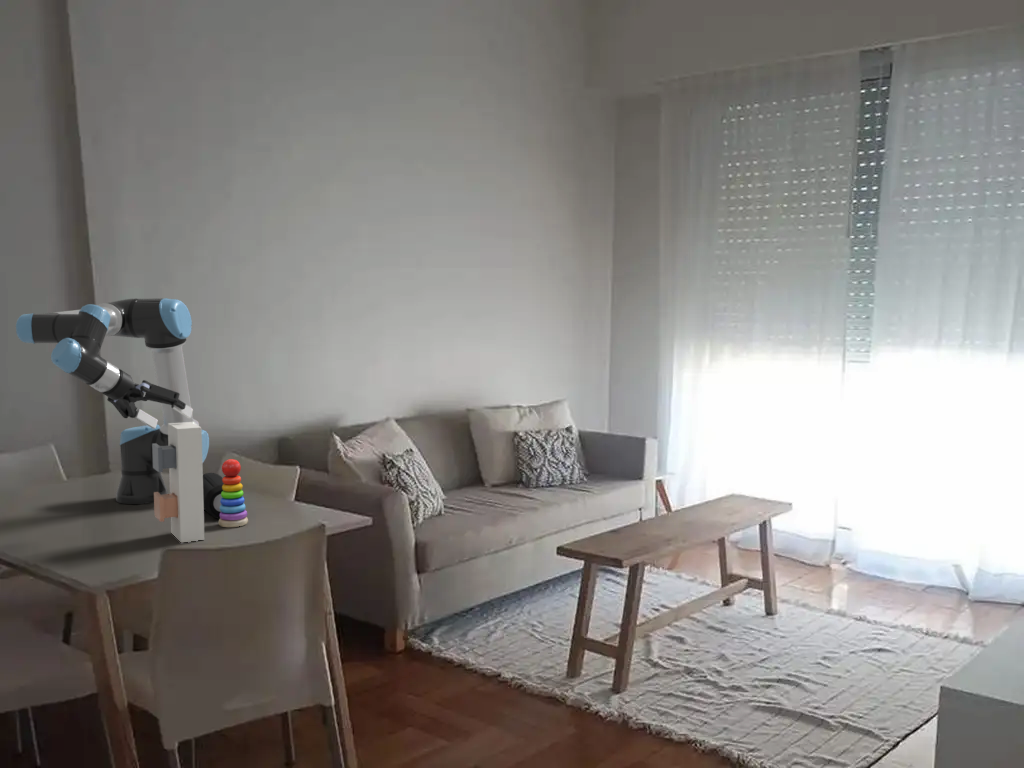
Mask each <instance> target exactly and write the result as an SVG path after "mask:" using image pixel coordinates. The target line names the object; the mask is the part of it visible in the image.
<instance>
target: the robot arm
mask: <svg viewBox="0 0 1024 768" xmlns="http://www.w3.org/2000/svg"><path fill="white" fill-rule="evenodd" d="M192 324H193V322H192V316H191V313H190V310H189V309H188V306H187V305H186V304H185V303H184V302H183V301H181V300H179V299H173V298H167V297H165V298H125V299H120V300H116V301H110V302H103V303H99V304H94V303H92V304H91V303H90V304H89V303H88V304H85V305H82V307H81V308H80V309H75V310H64V311H63V310H62V311H56V312H47V313H34V312H32V313H27V314H26V313H23V314H21V315H20V316H19V317H18V318H17V320H16V323H15V329H16V331H15V332H16V335H17V338H18V339H19V341H21V342H23V343H25V344H33V345H36V344H56V345H55V347H54V348H52V351H51V355H50V359H51V362H52V364H53V365H55V366H56V367H57V368H59V369H60V370H62V371H63V372H65V374H69V375H71V376H72V377H74V378H76V379H77V380H79V381H80V382H82V383H84V384H86V385H88V386H90V387H91V388H93V389H94V391H95V390H96V391H98V392H100V393H102V394H103V395H104V396H106V397H107V401H108V402H109V403H110V404H112V406H113V407H114V408H115V409H116V410H117V411H118V412H119V414H120V415H121V416H122V418H124V419H128V418H131V419H135V420H137V421H139V422H141V423H143V424H145V425H140V426H135V427H130V428H129V427H128V428H126V429H123V430H122V431H121V432H120V437H119V438H120V439H119V446H120V447H119V448H120V451H119V452H120V469H121V470H120V471H121V473H120V474H121V475H120V480H119V483H118V485H117V486H118V487H117V489H116V492H115V493H116V494H115V501H116V502H117V503H119V504H125V505H143V504H144V503H145V504H152V503H153V504H154V492H159V493H160V494H161V495H163V494H169V493H168V488H167V485H166V483H165V480H164V478H163V475H162V472H158V471H156V470H155V469H154V468H153V453H152V444H155V443H156V444H158V445H159V446H168V423H183V422H192V423H194V424H196V425H198V426H200V422H199V421H198V420H197V419H195V418H194V416H193V411H194V408H192V402H191V397H190V390H189V384H188V383H189V382H188V375H187V370H186V364H185V363H186V362H185V358H184V357H185V356H184V351H183V346H185V344H186V343H187V338H189V337H190V335H191V333H192V329H193V328H192V326H193V325H192ZM106 337H123V338H131V339H133V338H134V339H143V340H144V344H145V347H146V348H147V349H149V350H150V351H151V353H152V358H153V364H154V366H153V367H154V371H155V375H156V376H155V377H156V383H157V384H154V383H151V382H150V381H147V380H146V379H143V380H142V382H141V383H140V384H139V383H135V382H134V381H133V377H132V376H131V375H130V374H129V373H127V372H125V371H124V370H122V369H120V368H119V367H118V366H116V365H114V364H113V363H111V362H110V361H108V360H106V359H104V358H103V357H101V355H99V354H100V351H101V348H102V346H103V343H104V340H105V338H106ZM140 401H141V402H142V401H143V402H147V401H150V402H155V403H159V404H160V406H161V407H160V408H161V413H162V419H163V423H162V425H159V424H158V422H159V420H158V419H157V418H156V417H154V416H152V415H151V414H149V413H147V412H146V411H144V410H142V409H140V408H138V407H137V406H136V402H140ZM209 448H210V436H209V433H208V432H207V430H204V429H202V464H203V463H204V462H205V461H206V459H207V456H208V452H209Z"/></svg>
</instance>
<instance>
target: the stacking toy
mask: <svg viewBox="0 0 1024 768" xmlns="http://www.w3.org/2000/svg"><path fill="white" fill-rule="evenodd" d="M241 467H242V466H241V463H240V462H239V461H238V460H237V459H233V458H230V459H226V460H224V462H222V465H221V472H222V473H223V475H224V476H223V477H222V478H223V479H222V481H223V483H224V484H223V486H222V489H223V490H224V491H222V492H221V496H222V498H221V500H220V502H221V504H222V505H221V506H220V511H221V513H220V519H218V525H219V526H220V527H223V528H238V527H239V526H240V527H243V526H245V525H247V524H248V523H249V519H248V517H247V516H248V511H247V510H246V504H245V498H244V491H243V487H244V485H243V484H242V483H241V482H242V477H241V476H240V475H239V474H240V472H241V470H242V468H241Z"/></svg>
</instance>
